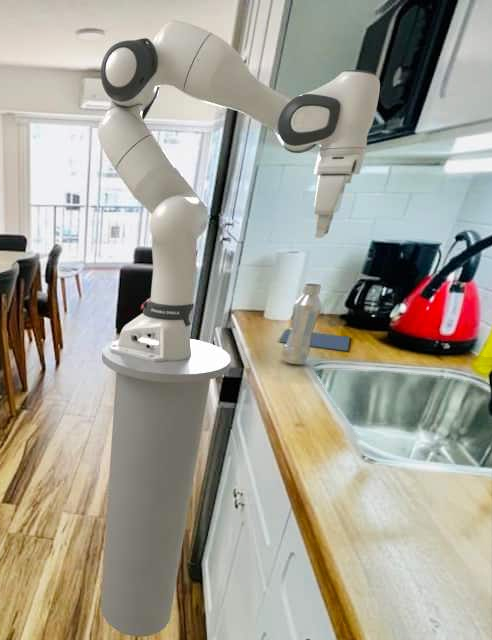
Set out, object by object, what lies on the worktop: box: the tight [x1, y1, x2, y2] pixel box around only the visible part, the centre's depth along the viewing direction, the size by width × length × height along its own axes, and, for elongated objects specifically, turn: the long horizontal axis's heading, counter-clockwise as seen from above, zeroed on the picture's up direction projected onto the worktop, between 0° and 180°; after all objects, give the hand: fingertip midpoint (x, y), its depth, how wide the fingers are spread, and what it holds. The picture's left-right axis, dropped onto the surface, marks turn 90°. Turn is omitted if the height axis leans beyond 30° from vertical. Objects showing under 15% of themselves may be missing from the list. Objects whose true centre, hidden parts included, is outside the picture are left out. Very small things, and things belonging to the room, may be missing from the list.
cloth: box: [279, 329, 351, 352], centre depth 146 cm, size 18×16×1 cm
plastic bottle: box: [281, 283, 322, 365], centre depth 123 cm, size 6×7×20 cm
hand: (321, 235), depth 109 cm, fingers open, 8 cm apart
